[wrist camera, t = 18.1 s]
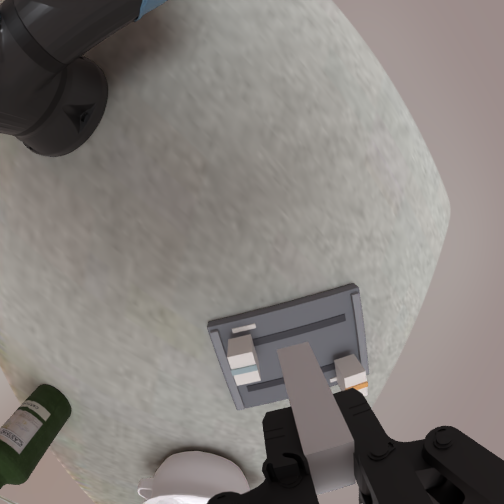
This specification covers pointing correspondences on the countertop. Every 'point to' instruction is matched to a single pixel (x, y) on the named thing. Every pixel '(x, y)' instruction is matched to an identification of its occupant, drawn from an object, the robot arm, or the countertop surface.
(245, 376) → the fader high
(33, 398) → the wine bottle
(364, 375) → the fader low
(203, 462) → the pot
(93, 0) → the robot arm
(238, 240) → the countertop surface
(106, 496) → the countertop surface
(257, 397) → the console
